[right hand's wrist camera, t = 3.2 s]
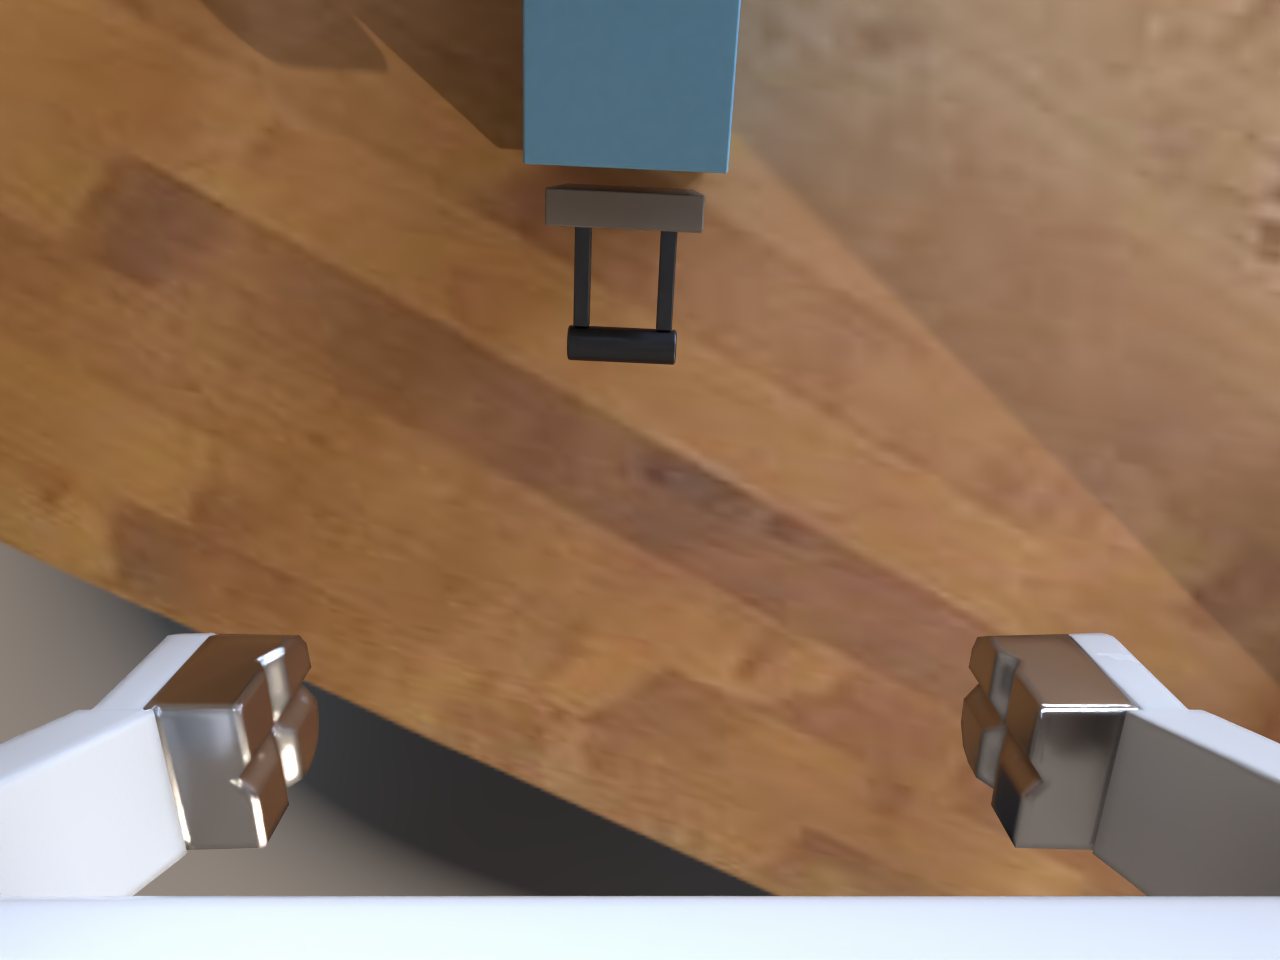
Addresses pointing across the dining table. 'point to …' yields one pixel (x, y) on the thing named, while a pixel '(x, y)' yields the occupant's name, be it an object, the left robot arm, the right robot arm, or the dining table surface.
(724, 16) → the light blue box block
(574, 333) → the drawer
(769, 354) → the dining table surface
